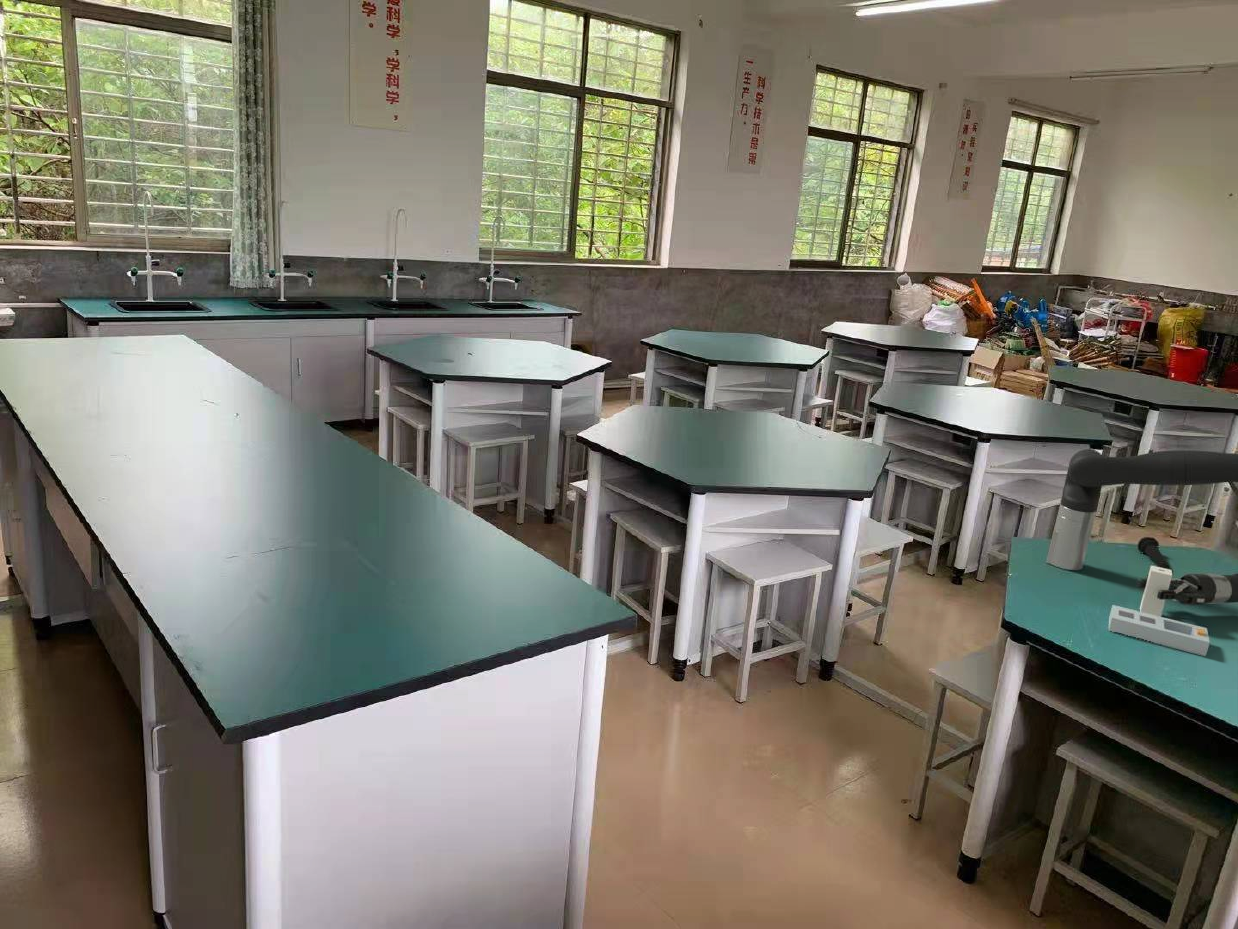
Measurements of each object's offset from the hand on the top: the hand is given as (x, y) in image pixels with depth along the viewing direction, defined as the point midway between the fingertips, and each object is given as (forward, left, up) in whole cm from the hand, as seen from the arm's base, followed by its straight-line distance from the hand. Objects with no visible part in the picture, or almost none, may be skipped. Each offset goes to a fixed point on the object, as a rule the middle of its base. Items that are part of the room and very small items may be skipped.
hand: (1148, 589), depth 226 cm
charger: (+2, +2, -7) cm, 7 cm away
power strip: (+3, -12, -7) cm, 15 cm away
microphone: (+3, +48, -8) cm, 48 cm away
